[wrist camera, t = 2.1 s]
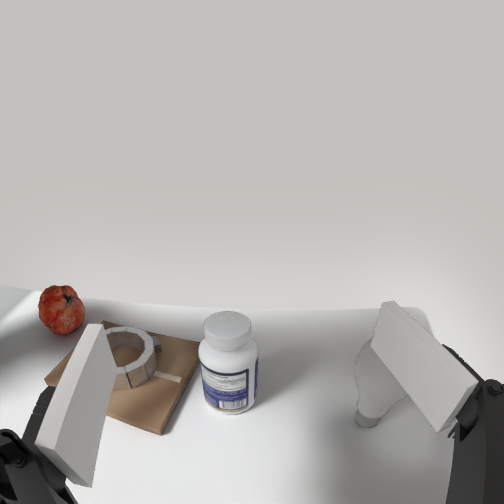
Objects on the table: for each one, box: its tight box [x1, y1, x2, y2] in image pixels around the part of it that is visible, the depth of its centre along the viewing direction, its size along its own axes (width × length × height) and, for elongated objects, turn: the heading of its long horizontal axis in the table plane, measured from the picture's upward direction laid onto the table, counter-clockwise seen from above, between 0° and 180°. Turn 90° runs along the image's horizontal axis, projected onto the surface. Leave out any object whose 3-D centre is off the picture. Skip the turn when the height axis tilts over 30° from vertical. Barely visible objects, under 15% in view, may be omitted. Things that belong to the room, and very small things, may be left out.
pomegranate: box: [38, 285, 85, 335], centre depth 34 cm, size 7×7×10 cm
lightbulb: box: [355, 338, 408, 428], centre depth 21 cm, size 6×6×11 cm
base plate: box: [44, 321, 200, 435], centre depth 29 cm, size 16×14×1 cm
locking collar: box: [105, 326, 162, 391], centre depth 28 cm, size 8×8×2 cm
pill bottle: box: [199, 311, 258, 415], centre depth 25 cm, size 5×5×10 cm
